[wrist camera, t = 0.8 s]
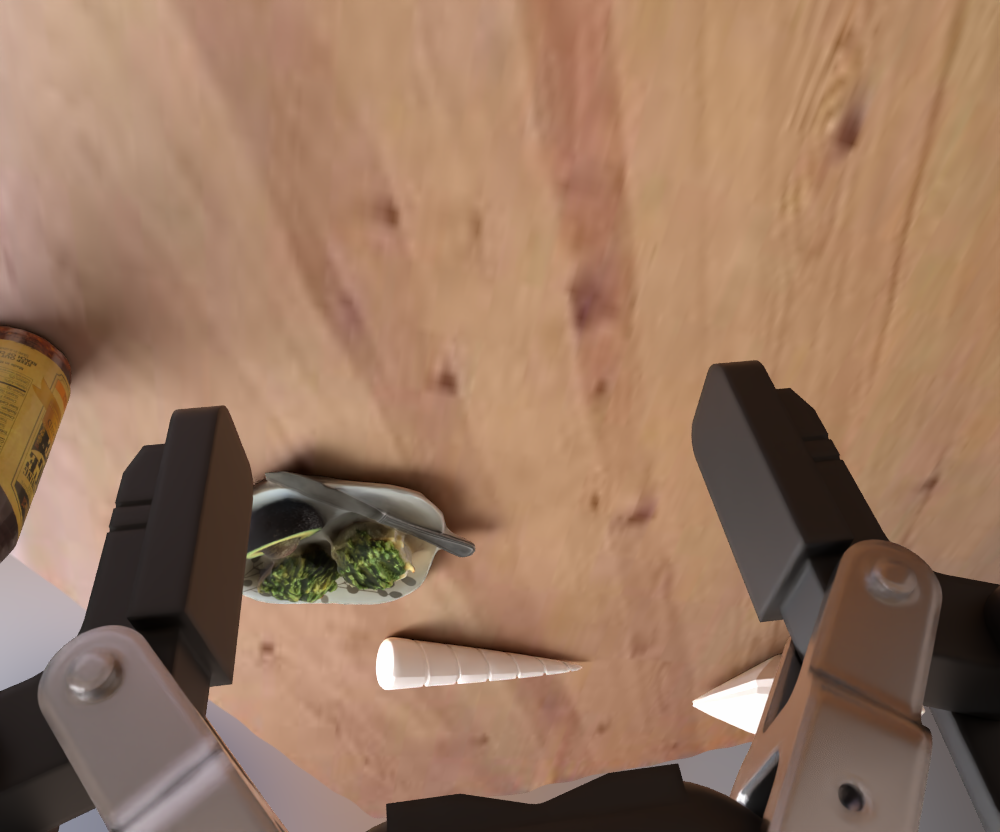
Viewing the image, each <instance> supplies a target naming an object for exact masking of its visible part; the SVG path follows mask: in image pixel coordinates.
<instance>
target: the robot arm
mask: <svg viewBox="0 0 1000 832" xmlns="http://www.w3.org/2000/svg"><path fill="white" fill-rule="evenodd" d="M692 446H693V451H694V455H695V458H696V461H697V463H698V466H699V468H700V471H701V473H702V476H703V478H704V481H705V483H706V486H707V489H708V491H709V494H710V496H711V499H712V501H713V504H714V506H715V509H716V511H717V514H718V517H719V519H720V522H721V524H722V527H723V529H724V532H725V534H726V537H727V539H728V542H729V545H730V547H731V550H732V552H733V555H734V557H735V560H736V562H737V565H738V567H739V570H740V572H741V575H742V578H743V580H744V583H745V585H746V588H747V590H748V593H749V595H750V598H751V600H752V603H753V606H754V608H755V611H756V613H757V616H758V618H759V621H760V622H766V621H774V620H782V619H784V622H785V624H786V627H787V629H788V631H789V634H790V636H789V638H788V640H787V642H786V644H785V647H784V650H783V653H782V656H781V659H780V662H779V665H778V668H777V671H776V674H775V677H774V680H773V683H772V686H771V689H770V692H769V695H768V698H767V701H766V704H765V707H764V710H763V713H762V716H761V719H760V722H759V725H758V728H757V731H756V734H755V737H754V740H753V742H752V745H751V747H750V749H749V751H748V754H747V755H746V757H745V759H744V761H743V763H742V766H741V768H740V770H739V773H738V775H737V778H736V780H735V783H734V785H733V788H732V791H731V794H730V797H728V796H726V795H724V794H722V793H720V792H717V791H715V790H713V789H710V788H708V787H704V786H701V785H698V784H694V783H691V782H685V781H683V779H682V776H681V772H680V768H679V765H678V764H671V765H664V766H656V767H650V768H642V769H635V770H628V771H620V772H613V773H608V774H606V775H603V776H601V777H599V778H597V779H595V780H592V781H590V782H588V783H586V784H584V785H581V786H579V787H577V788H575V789H573V790H570V791H568V792H566V793H564V794H562V795H559V796H557V797H555V798H553V799H551V800H549V801H546V802H544V803H541V804H527V803H520V802H513V801H506V800H499V799H492V798H486V797H479V796H472V795H465V794H454V795H447V796H440V797H433V798H425V799H418V800H411V801H404V802H396V803H389V804H386V810H387V821H386V822H384V823H381V824H379V825H377V826H375V827H373V828H371V829H370V830H368V831H366V832H918V829H919V823H920V817H921V812H922V806H923V800H924V794H925V788H926V783H927V777H928V771H929V766H930V760H931V753H932V735H931V732H930V730H929V728H927V727H925V726H923V725H922V723H921V712H922V706H927V707H929V708H930V710H931V713H932V715H933V717H934V719H935V722H936V724H937V726H938V728H939V730H940V733H941V735H942V737H943V739H944V742H945V744H946V746H947V748H948V750H949V752H950V755H951V757H952V759H953V761H954V763H955V765H956V768H957V770H958V772H959V775H960V777H961V779H962V781H963V783H964V786H965V788H966V790H967V792H968V794H969V796H970V799H971V801H972V803H973V805H974V808H975V810H976V812H977V814H978V816H979V818H980V821H981V823H982V825H983V827H984V830H985V831H986V832H1000V585H998V584H993V583H987V582H982V581H977V580H971V579H966V578H960V577H955V576H950V575H945V574H941V573H937V572H934V571H932V569H931V568H930V567H929V565H928V564H927V563H926V562H925V561H924V560H923V559H921V558H920V557H919V556H918V555H916V554H915V553H913V552H912V551H910V550H909V549H907V548H905V547H903V546H901V545H898V544H896V543H893V542H890V541H889V540H888V538H887V537H886V535H885V534H884V532H883V531H882V529H881V527H880V525H879V523H878V522H877V520H876V518H875V516H874V515H873V513H872V511H871V509H870V507H869V506H868V504H867V502H866V500H865V499H864V497H863V495H862V493H861V491H860V490H859V488H858V486H857V484H856V483H855V481H854V479H853V477H852V475H851V474H850V472H849V470H848V468H847V467H846V465H845V463H844V461H843V460H840V458H839V456H840V454H839V452H838V451H837V449H836V447H835V445H834V443H833V442H832V440H831V439H828V433H827V431H826V429H825V427H824V426H823V424H822V422H821V420H820V419H819V417H818V415H817V413H816V411H815V410H814V409H813V408H812V407H811V406H810V405H809V404H808V403H807V402H805V401H804V400H803V399H802V398H801V397H800V396H799V395H797V394H796V393H795V392H794V391H793V390H792V389H791V388H785V389H775V387H774V385H773V383H772V381H771V379H770V377H769V375H768V373H767V371H766V370H765V368H764V366H763V365H762V364H761V363H760V362H759V361H756V360H753V361H742V362H731V363H719V364H713V365H711V367H710V368H709V370H708V373H707V376H706V379H705V383H704V386H703V389H702V393H701V396H700V399H699V403H698V406H697V409H696V413H695V416H694V419H693V423H692ZM115 503H116V508H114V509H113V513H112V517H111V521H110V524H109V528H110V532H109V533H107V536H106V540H105V543H104V547H103V551H102V555H101V558H100V562H99V566H98V570H97V573H96V577H95V581H94V585H93V589H92V592H91V596H90V600H89V604H88V607H87V611H86V616H85V619H84V622H83V624H82V627H81V630H80V632H79V633H78V635H77V637H75V638H73V639H72V640H71V641H69V642H68V643H67V644H66V645H64V646H63V647H62V648H61V649H60V650H59V651H58V652H57V653H56V654H55V655H54V656H53V658H52V659H51V660H50V662H49V663H48V665H47V666H46V668H45V670H44V671H42V672H41V673H39V674H37V675H36V676H34V677H32V678H30V679H28V680H26V681H24V682H21V683H19V684H17V685H14V686H12V687H9V688H7V689H5V690H2V691H0V832H58V830H59V825H61V824H63V823H65V822H67V821H69V820H71V819H73V818H76V817H78V816H80V815H82V814H84V813H86V812H88V811H90V810H92V809H95V808H96V809H97V810H98V812H99V814H100V816H101V818H102V819H103V821H104V823H105V825H106V827H107V829H108V831H109V832H288V830H287V829H286V828H285V826H284V825H283V824H282V822H281V821H280V820H279V818H278V817H277V816H276V814H275V813H274V812H273V810H272V809H271V807H270V806H269V805H268V803H267V802H266V801H265V799H264V798H263V796H262V795H261V793H260V792H259V791H258V789H257V788H256V786H255V785H254V784H253V782H252V781H251V779H250V778H249V777H248V775H247V774H246V772H245V771H244V770H243V768H242V767H241V765H240V764H239V763H238V761H237V760H236V758H235V757H234V756H233V754H232V753H231V751H230V750H229V749H228V747H227V746H226V744H225V743H224V742H223V740H222V739H221V737H220V736H219V735H218V733H217V732H216V730H215V729H214V728H213V726H212V725H211V723H210V722H209V720H208V719H207V718H206V709H207V702H208V695H209V687H212V686H221V685H229V684H232V681H233V672H234V663H235V654H236V645H237V637H238V628H239V619H240V610H241V601H242V593H243V584H244V575H245V566H246V557H247V549H248V540H249V531H250V522H251V514H252V505H253V479H252V472H251V468H250V464H249V461H248V459H247V456H246V454H245V451H244V448H243V446H242V443H241V441H240V438H239V436H238V433H237V431H236V428H235V425H234V423H233V420H232V418H231V415H230V413H229V411H228V409H227V408H226V407H225V406H212V407H201V408H190V409H178V410H175V411H174V412H173V414H172V416H171V420H170V424H169V429H168V433H167V438H166V442H165V444H157V445H146V446H143V447H142V449H141V450H140V451H139V453H138V454H137V455H136V457H135V458H134V459H133V461H132V462H131V463H130V465H129V466H128V467H127V469H126V470H125V471H124V473H123V475H122V479H121V483H120V487H119V491H118V494H117V498H116V502H115Z"/></svg>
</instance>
